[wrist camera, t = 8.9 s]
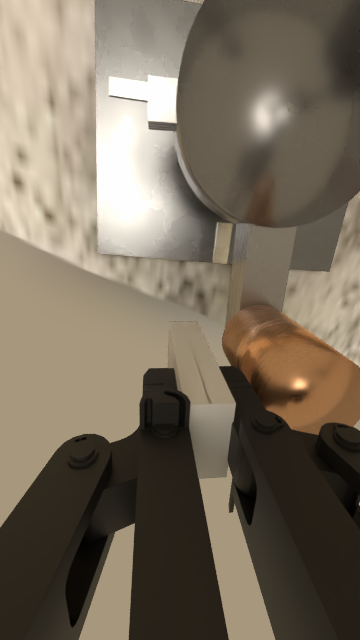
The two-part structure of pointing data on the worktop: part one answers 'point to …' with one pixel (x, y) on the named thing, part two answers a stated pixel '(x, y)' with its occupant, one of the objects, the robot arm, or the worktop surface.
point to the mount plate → (161, 149)
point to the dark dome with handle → (271, 175)
